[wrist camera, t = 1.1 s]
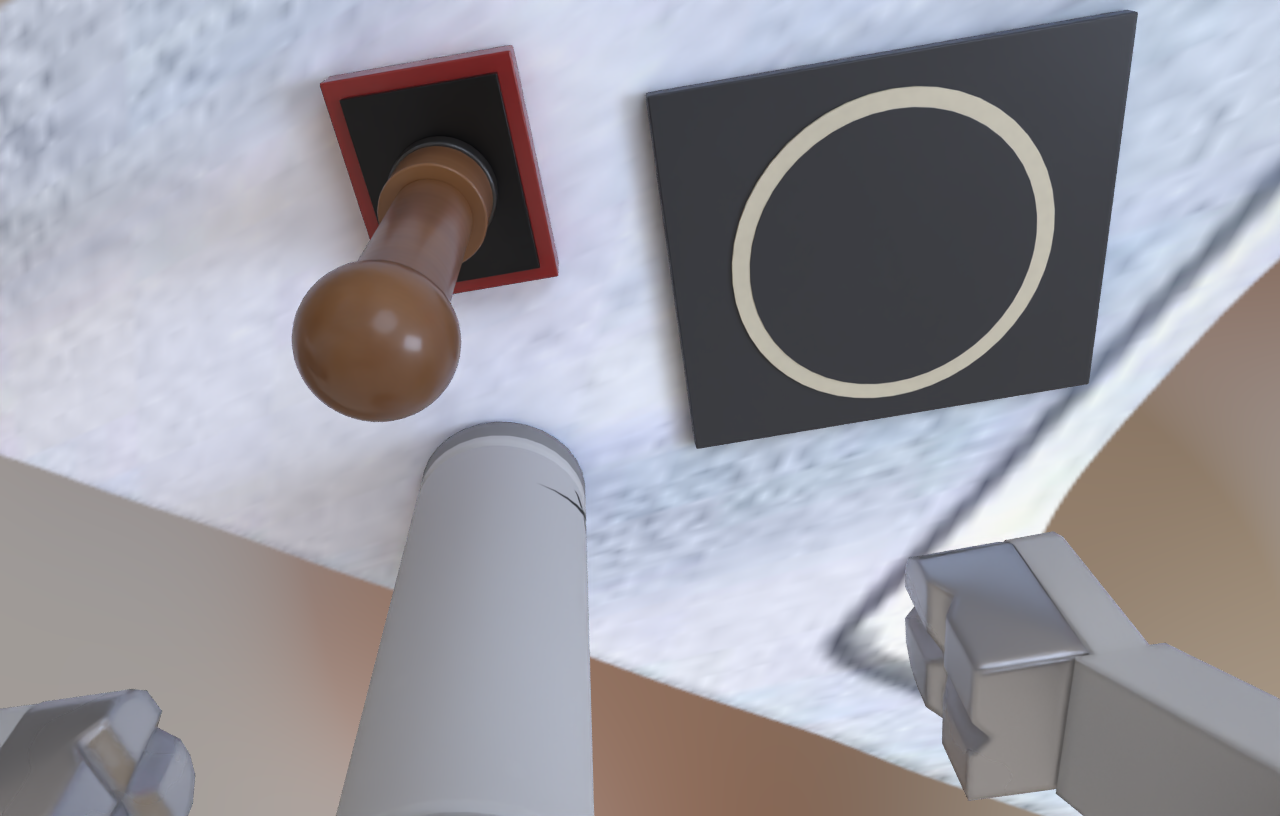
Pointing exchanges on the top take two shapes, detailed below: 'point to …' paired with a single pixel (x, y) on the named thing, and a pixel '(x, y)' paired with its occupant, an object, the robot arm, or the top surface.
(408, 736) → the travel mug
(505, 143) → the ink pad
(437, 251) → the dot stamp
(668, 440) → the top surface
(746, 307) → the dark grey square plate
